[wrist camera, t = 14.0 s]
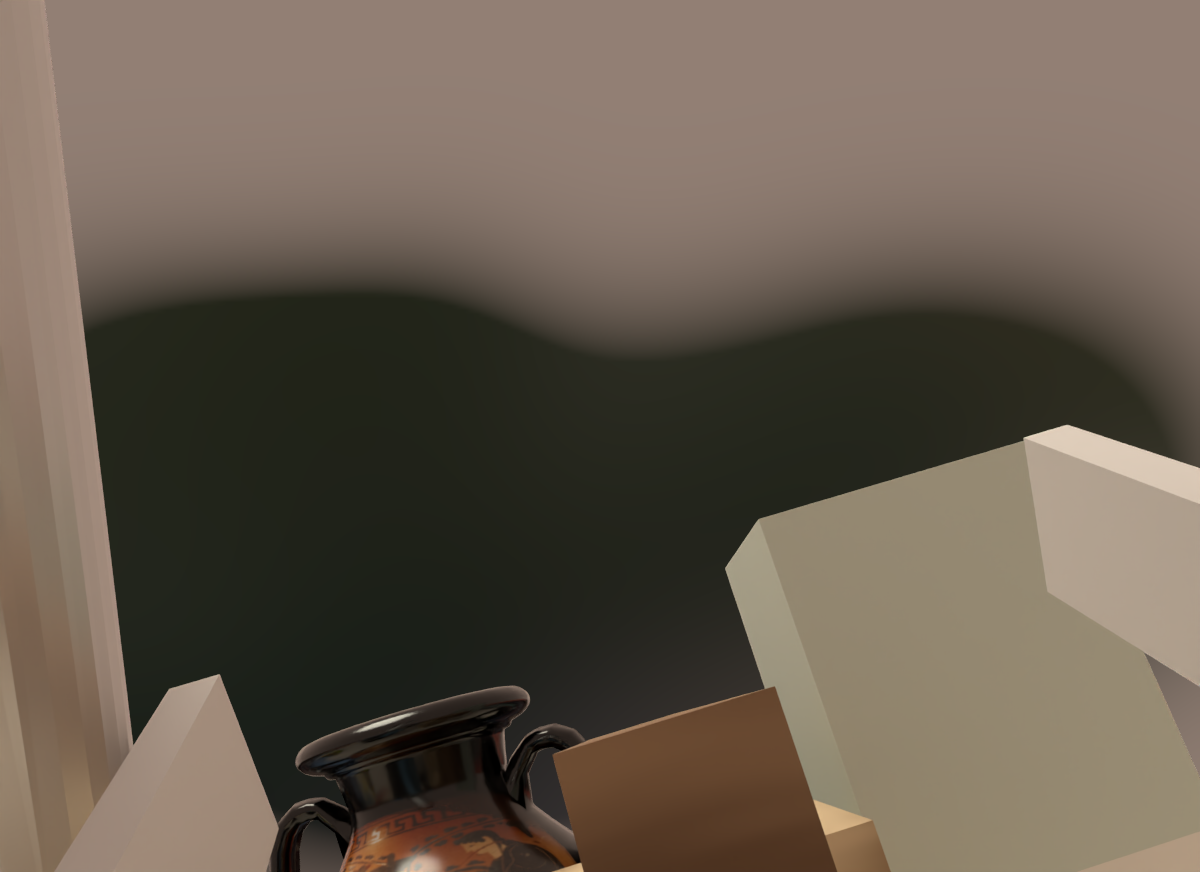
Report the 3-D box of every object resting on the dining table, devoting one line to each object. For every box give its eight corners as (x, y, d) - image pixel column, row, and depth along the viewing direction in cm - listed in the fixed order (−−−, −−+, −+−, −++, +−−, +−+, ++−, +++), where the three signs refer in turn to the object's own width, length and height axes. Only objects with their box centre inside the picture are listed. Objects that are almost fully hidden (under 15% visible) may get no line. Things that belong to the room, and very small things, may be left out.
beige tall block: (1084, 1455, 30) (758, 519, 38) (953, 1253, 41) (725, 568, 49) (1442, 1322, 30) (1046, 434, 39) (1215, 1159, 42) (947, 501, 50)
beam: (857, 931, 16) (775, 686, 17) (620, 1009, 16) (552, 755, 17) (699, 801, 45) (673, 714, 46) (615, 828, 44) (590, 739, 45)
